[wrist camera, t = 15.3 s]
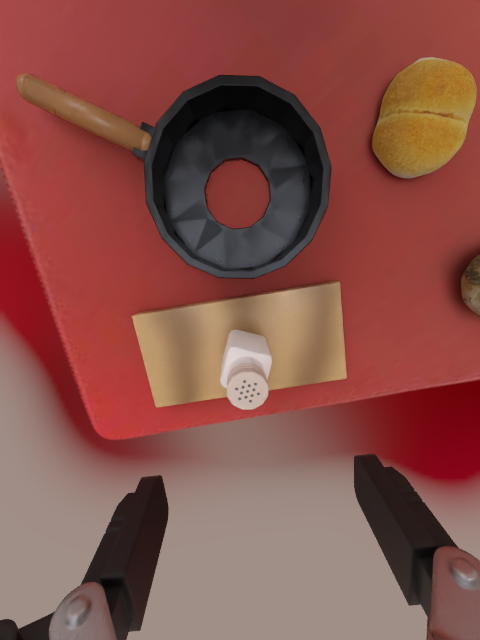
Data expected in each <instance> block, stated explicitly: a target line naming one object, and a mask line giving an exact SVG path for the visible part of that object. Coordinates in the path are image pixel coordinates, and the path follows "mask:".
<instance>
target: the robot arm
mask: <svg viewBox="0 0 480 640" xmlns="http://www.w3.org/2000/svg"><path fill="white" fill-rule="evenodd" d="M354 488H355V493H356V497H357V500H358V502H359V505H360V507H361V509H362V511H363V513H364V515H365V517H366V519H367V521H368V523H369V525H370V527H371V529H372V531H373V533H374V535H375V537H376V539H377V541H378V543H379V545H380V547H381V549H382V551H383V553H384V556H385V557H386V560H387V561H388V564H389V566H390V568H391V570H392V572H393V574H394V576H395V578H396V580H397V582H398V584H399V586H400V588H401V590H402V592H403V594H404V596H405V598H406V600H407V602H408V604H409V605H419V604H421V606H422V607H423V609H424V611H425V613H426V615H427V617H428V621H427V639H426V640H480V561H479V560H478V559H477V558H475V557H474V556H472V555H471V554H469V553H468V552H466V551H463V550H461V549H459V548H458V547H457V545H456V544H455V543H454V542H453V540H452V539H451V538H450V536H449V535H448V534H447V532H446V531H445V530H444V528H443V527H442V526H441V524H440V523H439V522H438V521H437V519H436V518H435V516H434V515H433V514H432V512H431V511H430V510H429V508H428V507H427V506H426V504H425V503H424V502H422V499H421V498H420V496H419V495H418V494H417V492H415V491H414V488H413V487H412V486H411V485H410V483H409V482H408V480H407V479H406V478H405V477H404V476H403V475H402V474H400V473H399V472H398V471H397V470H395V469H394V468H393V467H384V466H383V465H382V463H381V462H380V460H379V459H378V458H377V456H376V455H375V454H367V455H358V456H355V457H354ZM167 521H168V502H167V497H166V493H165V488H164V483H163V479H162V476H160V475H159V476H149V477H142V478H141V480H140V482H139V484H138V487H137V489H136V491H135V493H128V494H127V495H126V496H125V497H124V499H123V500H122V501H121V502H120V503H119V504H118V506H117V508H116V510H115V512H114V514H113V516H112V519H111V522H110V523H109V525H108V527H107V530H106V533H105V534H104V536H103V538H102V540H101V542H100V545H99V547H98V549H97V551H96V554H95V555H94V558H93V560H92V562H91V564H90V566H89V568H88V571H87V573H86V575H85V577H84V579H83V581H82V583H81V585H80V586H79V587H77V588H75V589H74V590H73V591H71V592H70V593H69V594H68V595H67V596H66V597H65V598H64V599H63V600H62V602H61V603H60V605H59V606H58V607H57V609H56V611H55V612H53V613H51V614H49V615H48V616H45V617H43V618H41V619H39V620H37V621H35V622H33V623H30V624H28V625H26V626H24V627H22V628H20V629H18V627H17V625H16V623H15V622H14V621H12V620H9V619H4V620H0V640H126V639H127V635H128V632H130V631H140V630H141V626H142V622H143V618H144V613H145V609H146V605H147V601H148V597H149V593H150V589H151V585H152V581H153V577H154V573H155V569H156V565H157V561H158V557H159V553H160V549H161V545H162V541H163V537H164V533H165V529H166V525H167Z"/></svg>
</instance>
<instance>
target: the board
mask: <svg viewBox="0 0 480 640" xmlns="http://www.w3.org/2000/svg"><path fill="white" fill-rule="evenodd" d="M132 319H133V323H134V327H135V330H136V334H137V338H138V342H139V346H140V349H141V353H142V357H143V361H144V364H145V368H146V372H147V376H148V379H149V383H150V387H151V391H152V395H153V398H154V402H155V406H156V408H158V407H164V406H171V405H177V404H184V403H190V402H197V401H203V400H210V399H216V398H223V397H227V388H225V387H224V386H222V385H221V382H220V376H221V368H222V360H223V355H224V351H225V347H226V343H227V339H228V336H229V333H230V332H231V330H235V329H236V330H241V331H245V332H249V333H253V334H257V335H261V336H263V337H264V338H265V339H266V342H267V345H268V348H269V351H270V354H271V357H272V364H271V368H270V372H269V376H268V379H267V382H268V390H275V389H281V388H288V387H294V386H301V385H307V384H314V383H320V382H327V381H333V380H340V379H346V378H347V375H346V361H345V347H344V333H343V319H342V305H341V291H340V282H338V281H329V282H323V283H317V284H311V285H304V286H298V287H292V288H286V289H280V290H274V291H268V292H261V293H255V294H249V295H243V296H237V297H231V298H224V299H218V300H212V301H206V302H200V303H194V304H188V305H181V306H175V307H169V308H163V309H157V310H151V311H145V312H138V313H136V314H134V315H132Z"/></svg>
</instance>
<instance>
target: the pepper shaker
mask: <svg viewBox="0 0 480 640" xmlns="http://www.w3.org/2000/svg"><path fill="white" fill-rule="evenodd" d="M271 364H272V357H271V354H270V351H269V348H268V345H267V342H266V339H265V338H264V337H263V336H261V335H257V334H253V333H249V332H245V331H241V330H236V329H235V330H231V332H230V333H229V336H228V339H227V343H226V347H225V351H224V355H223V360H222V368H221V376H220V382H221V385H222V386H224V387H225V388H227V397H228V399H229V400H230V402H231V403H232V405H234V406H236V407H238V408H240V409H242V410H247V409H255V408H257V407H259V406H260V405H262V404H263V403H264V401H265V400H266V398H267V397H268V382H267V379H268V376H269V372H270V368H271Z"/></svg>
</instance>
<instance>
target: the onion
mask: <svg viewBox="0 0 480 640" xmlns="http://www.w3.org/2000/svg"><path fill="white" fill-rule="evenodd" d="M461 294H462V298H463V300H464V302H465V304H466V305H467V306H468V307H469V308H470V309H471V310H472V311H473V312H474V313H476V314H477V315H479V316H480V254H479V255H478V256H476V257H475V258H474V259H473V260H472V261H471V262H470V264H469V265H468V266H467V268H466V270H465V271H464V273H463V275H462V278H461Z"/></svg>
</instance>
